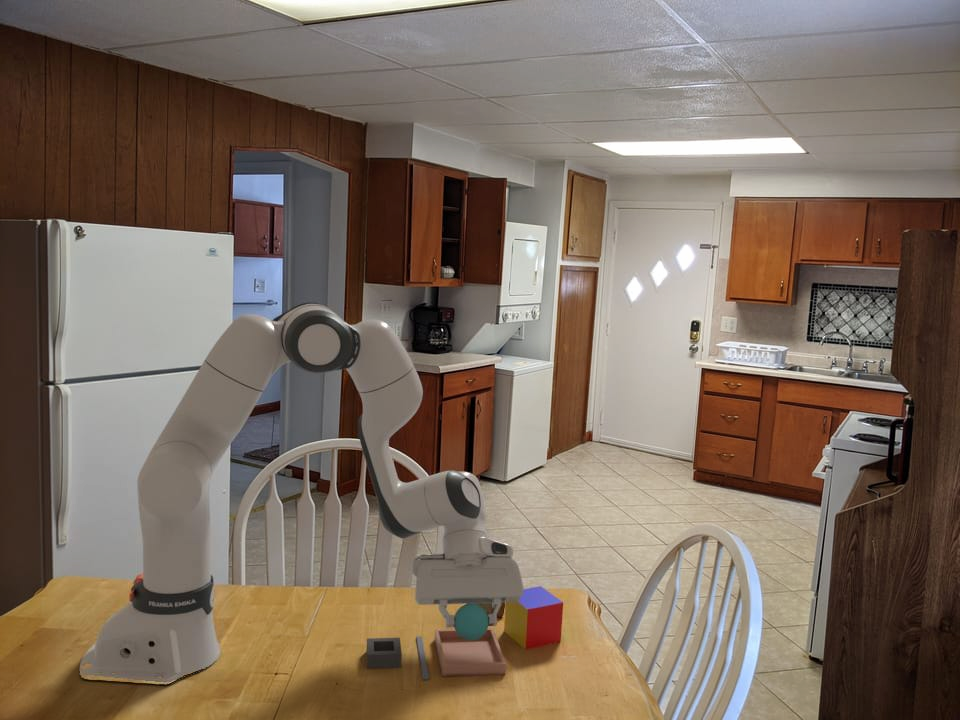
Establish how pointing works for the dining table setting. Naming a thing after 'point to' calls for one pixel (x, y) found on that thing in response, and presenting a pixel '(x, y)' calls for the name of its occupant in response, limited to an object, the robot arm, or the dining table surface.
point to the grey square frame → (383, 652)
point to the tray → (469, 654)
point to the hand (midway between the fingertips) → (471, 626)
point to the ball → (471, 621)
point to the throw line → (422, 658)
